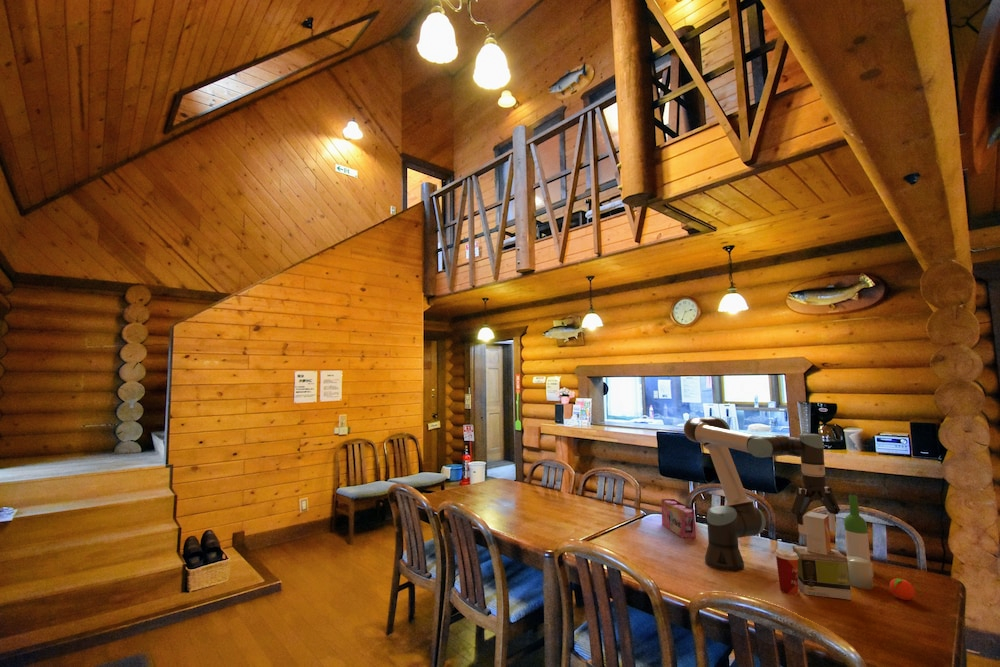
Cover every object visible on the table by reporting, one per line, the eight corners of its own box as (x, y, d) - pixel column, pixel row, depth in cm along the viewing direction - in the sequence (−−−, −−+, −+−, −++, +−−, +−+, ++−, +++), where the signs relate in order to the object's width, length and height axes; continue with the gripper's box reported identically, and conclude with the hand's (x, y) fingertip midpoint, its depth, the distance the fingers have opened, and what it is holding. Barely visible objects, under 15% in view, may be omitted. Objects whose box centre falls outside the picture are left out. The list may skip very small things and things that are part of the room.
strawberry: (907, 605, 157) (905, 584, 158) (884, 597, 163) (882, 576, 164) (920, 601, 160) (918, 580, 161) (896, 593, 166) (894, 573, 167)
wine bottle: (846, 563, 194) (840, 492, 197) (869, 567, 190) (862, 494, 193) (849, 570, 187) (843, 496, 191) (873, 574, 183) (866, 498, 187)
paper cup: (801, 598, 162) (799, 557, 164) (777, 593, 166) (774, 553, 168) (801, 590, 169) (798, 551, 170) (777, 585, 173) (774, 547, 174)
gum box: (697, 538, 226) (696, 510, 227) (683, 539, 225) (681, 511, 226) (675, 523, 249) (674, 498, 251) (661, 524, 249) (660, 499, 250)
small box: (827, 555, 164) (824, 518, 165) (806, 551, 168) (804, 515, 170) (831, 550, 170) (828, 514, 171) (811, 545, 174) (809, 511, 176)
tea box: (840, 589, 170) (837, 548, 171) (852, 601, 160) (848, 558, 162) (795, 583, 174) (792, 544, 176) (803, 595, 165) (800, 553, 166)
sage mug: (861, 590, 169) (859, 565, 170) (841, 581, 177) (839, 557, 178) (883, 587, 171) (881, 562, 172) (862, 578, 179) (860, 555, 180)
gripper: (795, 478, 166) (798, 537, 164) (848, 475, 171) (853, 533, 169) (778, 474, 173) (781, 530, 171) (830, 471, 179) (834, 526, 176)
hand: (817, 532), depth 170 cm, fingers open, 13 cm apart
